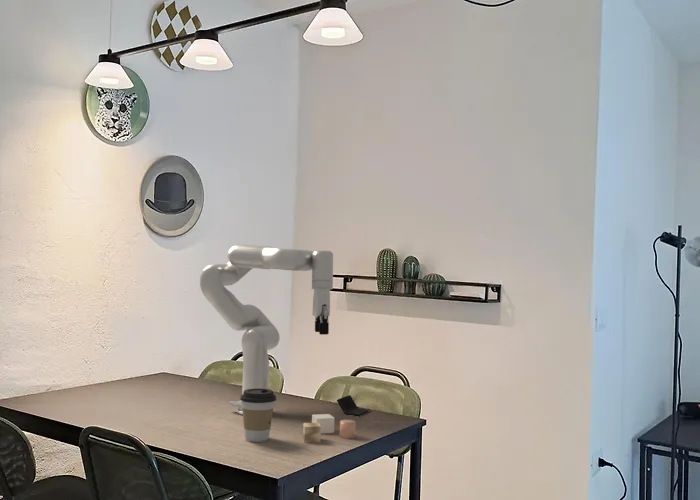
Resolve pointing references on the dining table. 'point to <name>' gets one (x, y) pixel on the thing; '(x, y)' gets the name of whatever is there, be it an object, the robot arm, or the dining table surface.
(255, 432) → the coffee cup
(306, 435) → the maple cube
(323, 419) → the white block
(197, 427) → the dining table surface
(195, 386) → the dining table surface
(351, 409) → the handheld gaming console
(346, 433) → the terracotta cylinder
